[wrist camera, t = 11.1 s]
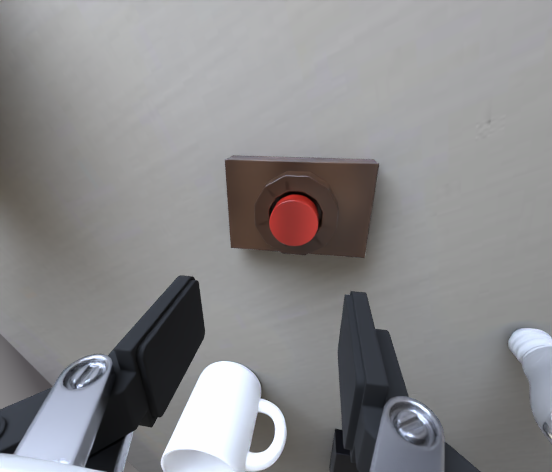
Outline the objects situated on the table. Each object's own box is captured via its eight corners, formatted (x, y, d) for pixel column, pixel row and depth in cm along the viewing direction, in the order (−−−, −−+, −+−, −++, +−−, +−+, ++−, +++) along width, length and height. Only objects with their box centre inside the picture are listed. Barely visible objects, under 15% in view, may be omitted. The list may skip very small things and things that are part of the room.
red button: (320, 195, 21) (319, 201, 19) (317, 238, 22) (316, 248, 21) (273, 192, 21) (268, 199, 20) (272, 235, 23) (269, 244, 21)
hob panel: (447, 446, 35) (458, 476, 32) (431, 485, 38) (439, 515, 36) (335, 428, 37) (336, 455, 34) (329, 467, 40) (329, 494, 38)
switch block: (374, 159, 23) (383, 168, 19) (361, 246, 26) (367, 268, 22) (232, 155, 24) (216, 162, 21) (237, 238, 27) (224, 257, 24)
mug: (295, 371, 34) (284, 470, 24) (287, 414, 37) (275, 515, 28) (201, 352, 35) (157, 439, 26) (202, 396, 38) (163, 486, 29)
